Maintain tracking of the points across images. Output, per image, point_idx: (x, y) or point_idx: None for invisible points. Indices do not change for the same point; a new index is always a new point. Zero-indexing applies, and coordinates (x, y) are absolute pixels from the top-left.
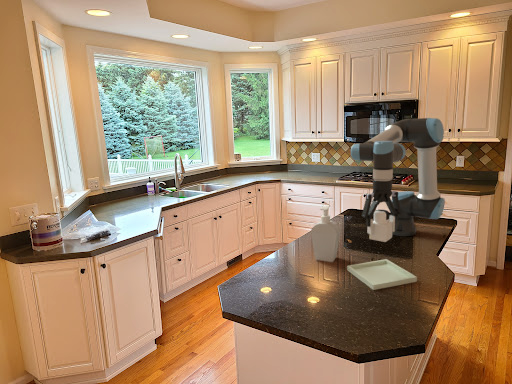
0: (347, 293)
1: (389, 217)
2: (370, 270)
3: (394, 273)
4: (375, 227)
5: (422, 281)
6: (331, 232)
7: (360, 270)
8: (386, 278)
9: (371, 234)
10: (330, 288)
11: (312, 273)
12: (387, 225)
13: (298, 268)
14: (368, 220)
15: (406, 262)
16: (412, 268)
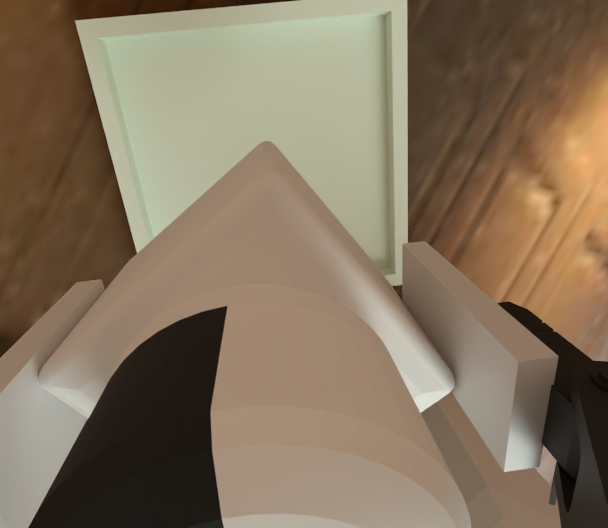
0: (546, 3)
1: (40, 500)
2: None
3: (181, 157)
4: (387, 289)
5: (49, 17)
6: (519, 511)
7: None
8: (259, 105)
9: (418, 243)
10: (588, 91)
11: (568, 276)
12: (234, 198)
13: (594, 338)
14: (584, 362)
15: (38, 292)
16: (35, 210)
